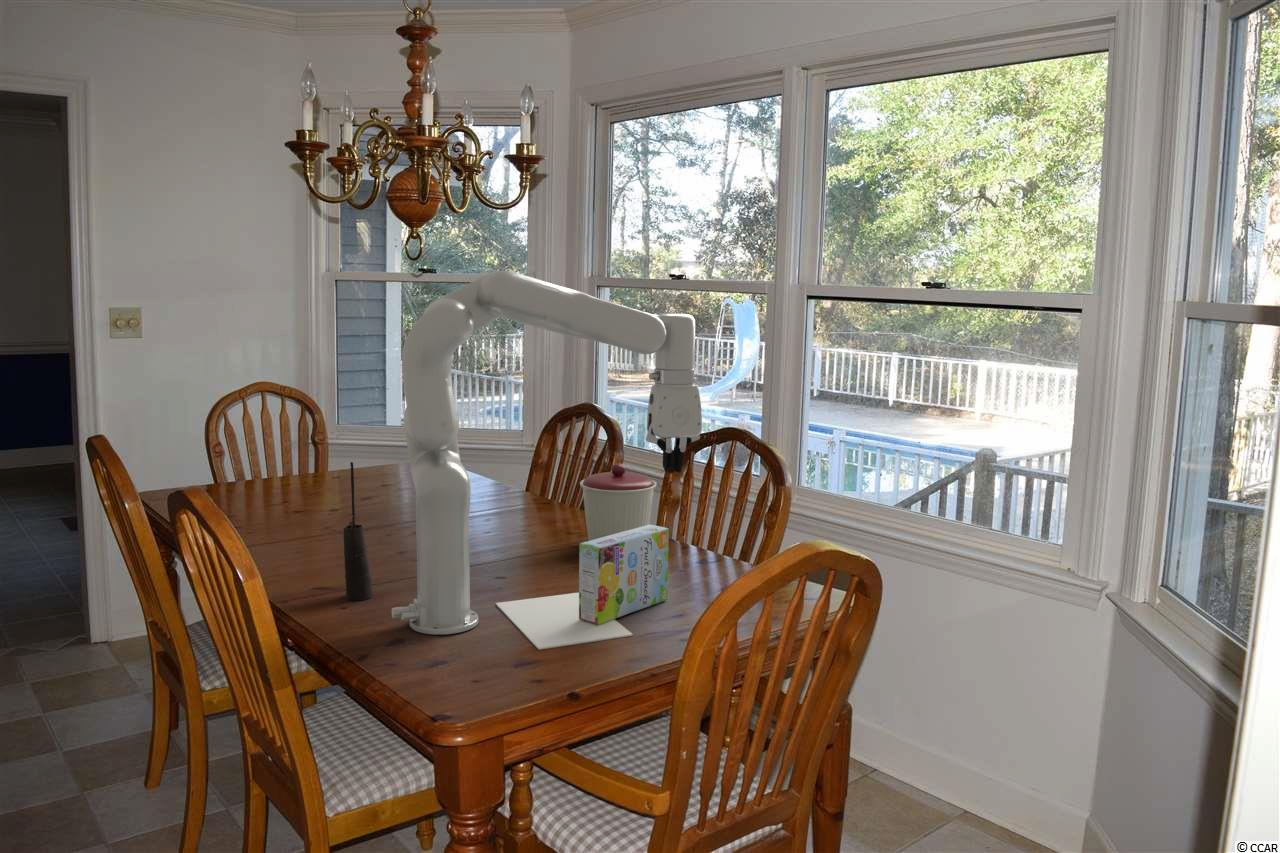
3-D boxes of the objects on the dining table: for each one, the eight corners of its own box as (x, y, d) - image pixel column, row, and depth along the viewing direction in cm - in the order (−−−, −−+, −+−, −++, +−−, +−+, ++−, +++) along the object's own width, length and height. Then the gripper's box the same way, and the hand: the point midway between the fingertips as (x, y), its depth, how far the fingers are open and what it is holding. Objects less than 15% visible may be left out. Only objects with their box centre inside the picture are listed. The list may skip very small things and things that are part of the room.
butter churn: (339, 588, 205) (335, 454, 201) (386, 588, 206) (383, 455, 201) (328, 602, 196) (323, 463, 192) (377, 602, 197) (373, 463, 192)
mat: (538, 649, 173) (538, 648, 173) (495, 604, 196) (495, 603, 196) (632, 635, 181) (632, 634, 181) (580, 593, 204) (580, 592, 204)
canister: (586, 563, 226) (587, 472, 223) (573, 542, 243) (574, 457, 240) (663, 559, 230) (665, 469, 227) (645, 538, 247) (646, 455, 244)
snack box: (646, 594, 204) (649, 523, 202) (668, 600, 200) (671, 528, 198) (576, 619, 188) (578, 541, 185) (598, 626, 184) (600, 547, 182)
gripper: (646, 381, 185) (645, 478, 187) (718, 378, 191) (716, 472, 194) (630, 377, 191) (628, 470, 194) (700, 375, 198) (698, 465, 201)
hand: (672, 471), depth 194 cm, fingers closed
